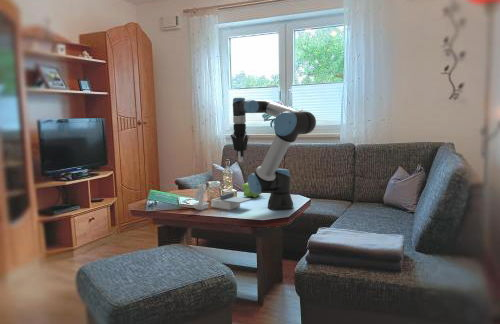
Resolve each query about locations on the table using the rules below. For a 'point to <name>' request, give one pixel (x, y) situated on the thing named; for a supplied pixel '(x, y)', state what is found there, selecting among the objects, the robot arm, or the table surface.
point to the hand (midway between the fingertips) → (240, 161)
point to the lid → (232, 198)
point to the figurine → (200, 198)
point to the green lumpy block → (248, 191)
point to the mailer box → (223, 204)
